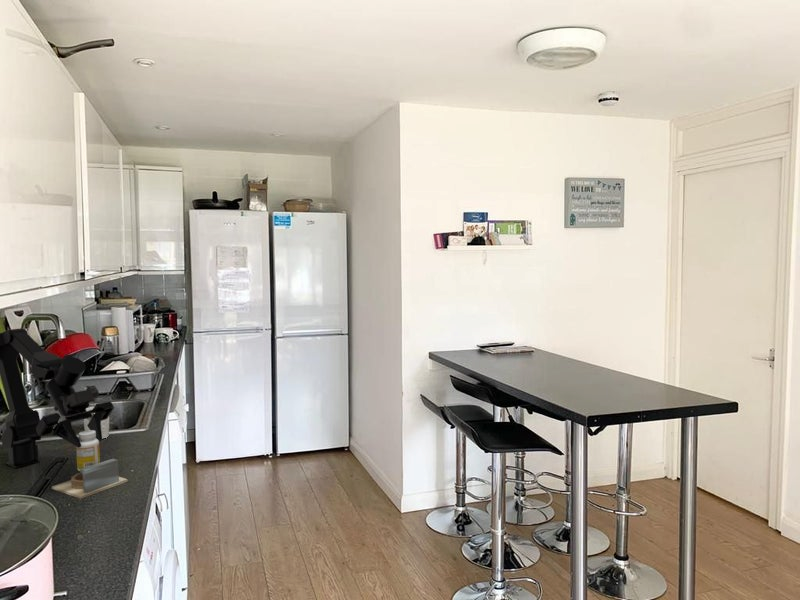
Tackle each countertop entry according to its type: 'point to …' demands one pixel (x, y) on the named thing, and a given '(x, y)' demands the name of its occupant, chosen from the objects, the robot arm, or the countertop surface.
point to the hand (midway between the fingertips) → (90, 443)
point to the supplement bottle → (87, 450)
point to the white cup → (103, 425)
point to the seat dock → (92, 480)
